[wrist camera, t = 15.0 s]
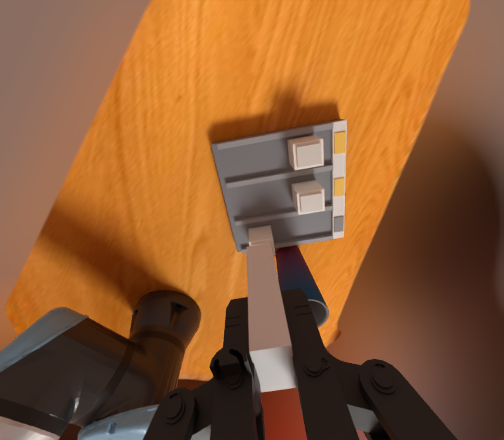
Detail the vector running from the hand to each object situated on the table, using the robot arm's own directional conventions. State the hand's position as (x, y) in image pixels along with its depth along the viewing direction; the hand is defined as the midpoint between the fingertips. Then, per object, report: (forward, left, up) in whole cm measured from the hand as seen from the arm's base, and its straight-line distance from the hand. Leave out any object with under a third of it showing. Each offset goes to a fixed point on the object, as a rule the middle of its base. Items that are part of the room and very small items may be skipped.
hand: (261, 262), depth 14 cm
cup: (+4, -19, -26) cm, 32 cm away
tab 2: (+8, +2, -23) cm, 25 cm away
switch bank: (+4, -5, -25) cm, 26 cm away
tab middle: (+8, -5, -23) cm, 25 cm away
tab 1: (-1, -12, -23) cm, 26 cm away
